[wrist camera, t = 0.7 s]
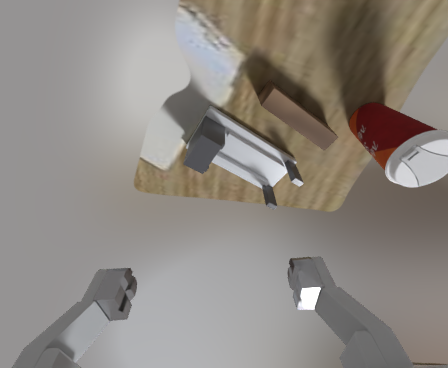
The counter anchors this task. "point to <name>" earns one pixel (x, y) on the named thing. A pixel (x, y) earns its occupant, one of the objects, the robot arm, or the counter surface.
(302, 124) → the slat
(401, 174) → the coffee cup
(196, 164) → the endcap frame
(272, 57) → the counter surface
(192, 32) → the counter surface
